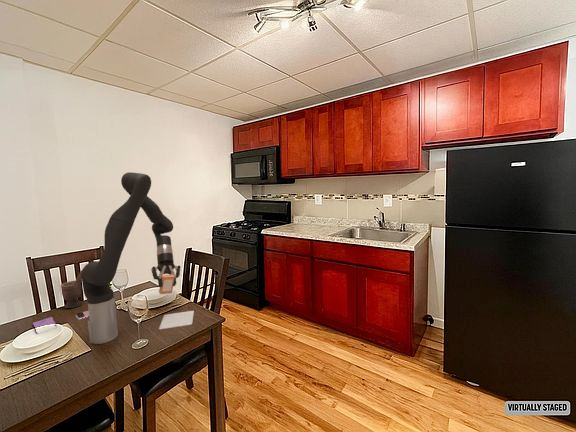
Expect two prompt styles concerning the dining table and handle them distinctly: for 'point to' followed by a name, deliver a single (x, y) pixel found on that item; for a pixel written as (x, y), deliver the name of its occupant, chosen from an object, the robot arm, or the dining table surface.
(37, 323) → the sponges
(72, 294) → the mortar and pestle
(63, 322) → the dining table surface
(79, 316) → the mobile phone
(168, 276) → the card box
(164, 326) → the mat
